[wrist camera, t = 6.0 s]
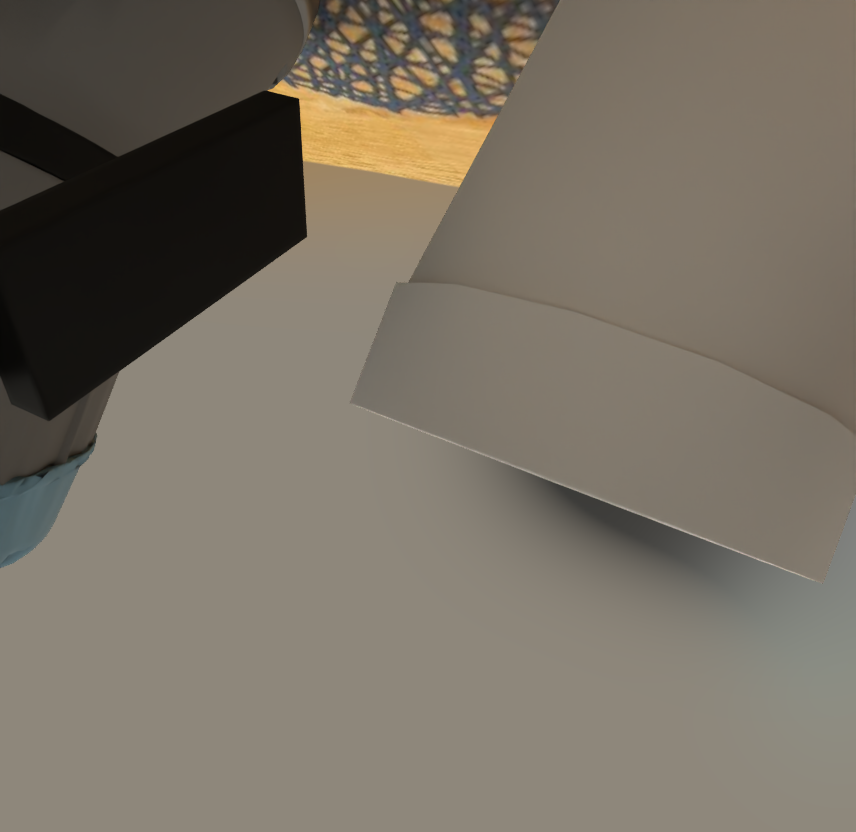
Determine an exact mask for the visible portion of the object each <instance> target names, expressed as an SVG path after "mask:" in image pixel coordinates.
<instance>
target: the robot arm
mask: <svg viewBox="0 0 856 832" xmlns="http://www.w3.org/2000/svg"><path fill="white" fill-rule="evenodd" d="M318 8H319V0H0V568H1V567H4V566H7V565H10V564H12V563H14V562H16V561H17V560H19V559H20V558H22V557H23V556H25V555H26V554H28V553H29V552H30V551H32V550H33V549H34V548H35V547H36V546H37V545H38V544H39V543H40V542H41V541H42V540H43V539H44V537H46V535H47V534H48V532H49V531H50V529H51V527H52V526H53V524H54V522H55V520H56V518H57V515H58V513H59V511H60V509H61V507H62V505H63V502H64V500H65V498H66V496H67V494H68V491H69V489H70V487H71V485H72V482H73V480H74V478H75V476H76V474H77V472H78V469H79V467H80V466H81V465H82V464H83V463H84V462H86V460H87V459H88V458H89V455H90V454H91V453H92V452H93V450H94V447H95V443H96V438H97V434H96V430H97V428H98V425H99V422H100V420H101V417H102V414H103V412H104V409H105V407H106V404H107V402H108V399H109V396H110V394H111V391H112V389H113V386H114V384H115V381H116V378H117V376H118V373H119V371H120V370H122V369H123V368H124V367H126V366H127V365H129V364H130V363H131V362H133V361H134V360H136V359H137V358H138V357H140V356H141V355H143V354H144V353H145V352H147V351H148V350H150V349H151V348H152V347H154V346H155V345H156V344H158V343H159V342H161V341H162V340H164V339H165V338H166V337H168V336H169V335H170V334H172V333H173V332H175V331H176V330H178V329H179V328H180V327H182V326H183V325H184V324H186V323H187V322H188V321H190V320H191V319H193V318H194V317H196V316H197V315H198V314H200V313H201V312H203V311H204V310H205V309H207V308H208V307H210V306H211V305H212V304H214V303H215V302H217V301H218V300H219V299H221V298H222V297H224V296H225V295H226V294H228V293H229V292H230V291H232V290H233V289H235V288H236V287H238V286H239V285H240V284H242V283H243V282H244V281H246V280H247V279H249V278H250V277H252V276H253V275H254V274H256V273H257V272H258V271H260V270H261V269H263V268H264V267H266V266H267V265H268V264H270V263H271V262H273V261H274V260H275V259H276V258H278V257H279V256H281V255H282V254H284V253H285V252H286V251H288V250H289V249H291V248H292V247H293V246H295V245H296V244H298V243H299V242H300V241H302V240H303V239H305V238H306V237H307V229H306V212H305V194H304V176H303V158H302V140H301V123H300V105H299V99H298V98H294V97H290V96H286V95H282V94H277V93H273V92H269V91H267V90H269V89H272V88H274V87H275V86H276V85H277V84H278V83H279V82H280V81H281V80H282V79H283V78H284V77H285V76H286V75H287V74H288V73H289V72H290V70H291V69H292V67H293V65H294V64H295V62H296V60H297V58H298V56H299V55H300V54H301V53H302V50H303V48H304V46H305V43H306V40H307V38H308V35H309V33H310V30H311V28H312V25H313V23H314V20H315V18H316V15H317V13H318Z"/></svg>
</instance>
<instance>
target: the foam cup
mask: <svg viewBox="0 0 856 832" xmlns="http://www.w3.org/2000/svg"><path fill="white" fill-rule="evenodd" d="M350 403H351V404H353V405H355V406H358V407H360V408H363V409H365V410H368V411H370V412H373V413H375V414H378V415H380V416H383V417H386V418H388V419H391V420H393V421H396V422H398V423H401V424H404V425H406V426H409V427H411V428H414V429H417V430H419V431H422V432H425V433H427V434H429V435H432V436H435V437H437V438H440V439H442V440H445V441H448V442H450V443H453V444H455V445H458V446H461V447H463V448H466V449H468V450H471V451H474V452H476V453H479V454H481V455H484V456H487V457H489V458H492V459H495V460H497V461H500V462H502V463H505V464H507V465H510V466H513V467H515V468H518V469H520V470H523V471H526V472H528V473H531V474H534V475H536V476H539V477H541V478H544V479H547V480H549V481H552V482H554V483H557V484H560V485H562V486H565V487H567V488H570V489H573V490H575V491H578V492H581V493H584V494H586V495H589V496H591V497H594V498H596V499H599V500H602V501H604V502H607V503H610V504H612V505H615V506H617V507H620V508H623V509H625V510H628V511H630V512H633V513H636V514H638V515H641V516H644V517H646V518H649V519H652V520H654V521H657V522H659V523H662V524H665V525H667V526H670V527H673V528H675V529H678V530H681V531H683V532H686V533H688V534H691V535H694V536H697V537H699V538H702V539H704V540H707V541H710V542H713V543H715V544H717V545H720V546H723V547H725V548H728V549H731V550H733V551H736V552H739V553H741V554H744V555H747V556H749V557H752V558H755V559H757V560H760V561H762V562H765V563H768V564H770V565H773V566H776V567H778V568H781V569H784V570H787V571H789V572H792V573H795V574H797V575H800V576H803V577H805V578H808V579H811V580H814V581H817V582H820V583H822V584H823V582H824V580H825V577H826V574H827V571H828V569H829V566H830V563H831V560H832V558H833V555H834V552H835V550H836V547H837V544H838V541H839V539H840V536H841V533H842V531H843V527H844V525H845V522H846V520H847V517H848V514H849V511H850V509H851V506H852V503H853V501H854V498H855V495H856V0H560V1H559V3H558V5H557V7H556V9H555V11H554V13H553V14H552V16H551V18H550V20H549V22H548V24H547V26H546V27H545V29H544V31H543V33H542V35H541V37H540V39H539V40H538V42H537V44H536V46H535V48H534V50H533V52H532V53H531V55H530V57H529V59H528V61H527V63H526V65H525V66H524V68H523V70H522V72H521V74H520V76H519V78H518V79H517V81H516V83H515V85H514V87H513V89H512V91H511V92H510V94H509V96H508V98H507V100H506V102H505V104H504V105H503V107H502V109H501V111H500V113H499V115H498V117H497V118H496V120H495V122H494V124H493V126H492V128H491V130H490V131H489V133H488V135H487V137H486V139H485V141H484V143H483V144H482V146H481V148H480V150H479V152H478V154H477V156H476V157H475V159H474V161H473V163H472V165H471V167H470V169H469V170H468V172H467V174H466V176H465V178H464V180H463V182H462V184H461V185H460V187H459V189H458V191H457V193H456V195H455V197H454V198H453V200H452V202H451V204H450V206H449V208H448V210H447V211H446V213H445V215H444V217H443V219H442V221H441V223H440V224H439V226H438V228H437V230H436V232H435V234H434V236H433V238H432V239H431V241H430V243H429V245H428V247H427V249H426V250H425V252H424V254H423V256H422V258H421V260H420V262H419V264H418V265H417V267H416V269H415V271H414V273H413V275H412V276H411V278H410V280H409V282H408V283H398V282H397V283H396V284H395V287H394V289H393V292H392V295H391V297H390V300H389V302H388V305H387V308H386V311H385V313H384V315H383V318H382V321H381V323H380V326H379V328H378V331H377V333H376V336H375V339H374V341H373V344H372V347H371V349H370V352H369V355H368V357H367V359H366V362H365V365H364V367H363V370H362V372H361V375H360V378H359V380H358V383H357V386H356V388H355V390H354V393H353V396H352V398H351V401H350Z"/></svg>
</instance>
